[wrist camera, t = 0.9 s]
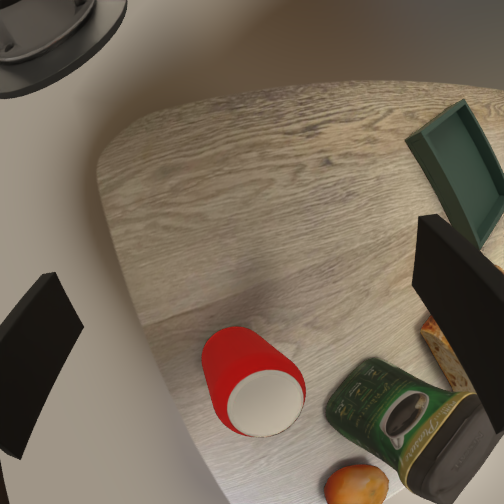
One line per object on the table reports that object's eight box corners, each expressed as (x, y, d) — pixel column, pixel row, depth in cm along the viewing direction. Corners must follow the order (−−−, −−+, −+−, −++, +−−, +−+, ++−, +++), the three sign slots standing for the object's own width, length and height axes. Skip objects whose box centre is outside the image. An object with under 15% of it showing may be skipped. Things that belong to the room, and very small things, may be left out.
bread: (409, 325, 34) (470, 337, 24) (477, 241, 38) (529, 236, 28) (450, 417, 36) (495, 438, 26) (506, 338, 40) (549, 344, 30)
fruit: (306, 517, 28) (342, 528, 22) (312, 464, 33) (349, 466, 27) (356, 511, 30) (395, 516, 24) (361, 463, 35) (400, 460, 28)
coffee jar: (349, 440, 31) (450, 521, 13) (311, 409, 30) (420, 505, 12) (401, 381, 33) (519, 429, 15) (370, 344, 32) (506, 389, 14)
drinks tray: (404, 140, 35) (420, 131, 32) (450, 105, 38) (464, 98, 35) (463, 251, 37) (480, 250, 33) (498, 198, 40) (512, 195, 37)
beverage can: (265, 381, 29) (312, 438, 18) (202, 386, 28) (218, 452, 16) (264, 322, 30) (316, 354, 18) (199, 325, 28) (213, 364, 17)
